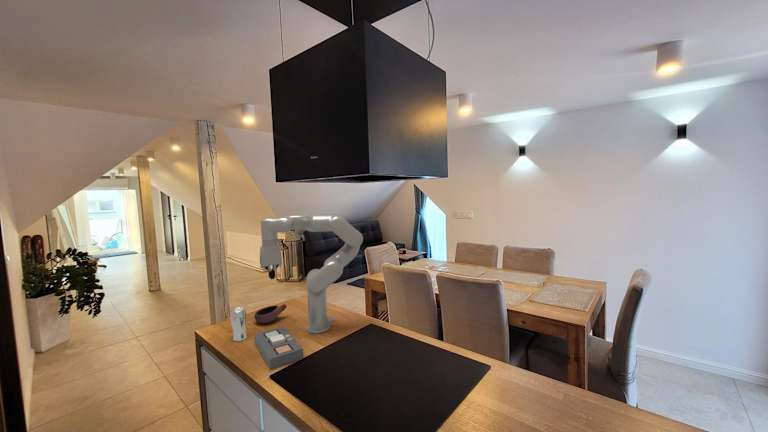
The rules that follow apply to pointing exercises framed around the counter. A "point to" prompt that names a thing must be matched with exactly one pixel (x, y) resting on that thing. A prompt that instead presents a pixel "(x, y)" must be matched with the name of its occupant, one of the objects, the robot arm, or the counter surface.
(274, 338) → the white key
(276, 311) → the bowl
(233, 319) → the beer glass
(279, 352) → the terracotta key
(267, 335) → the sage key
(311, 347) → the counter surface
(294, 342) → the keyguard board
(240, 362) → the counter surface
